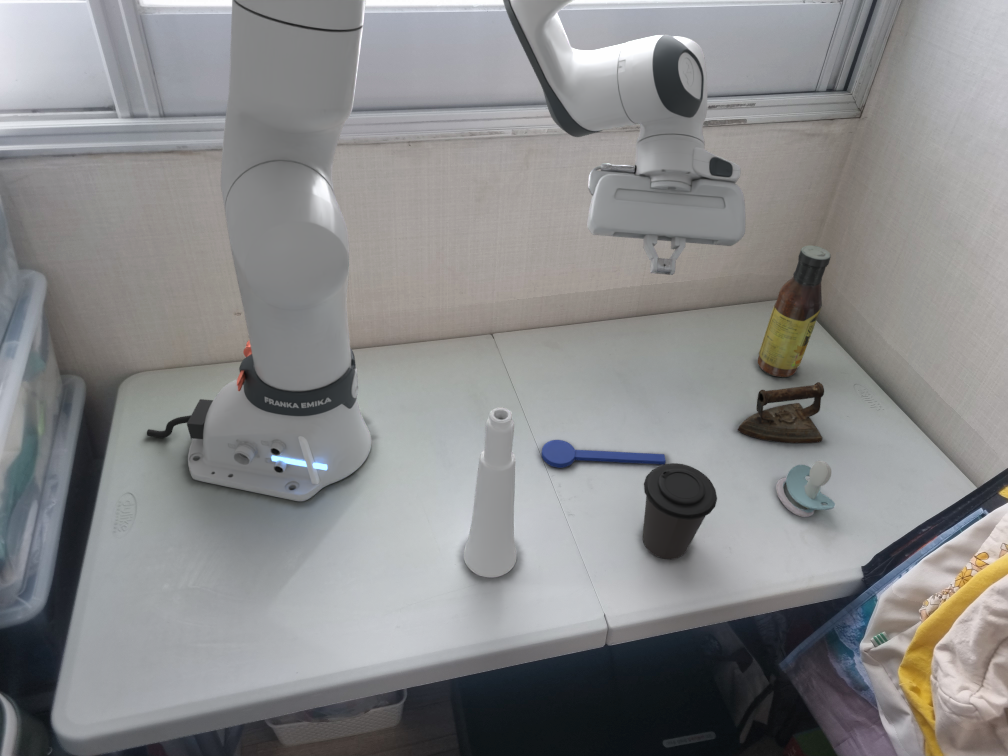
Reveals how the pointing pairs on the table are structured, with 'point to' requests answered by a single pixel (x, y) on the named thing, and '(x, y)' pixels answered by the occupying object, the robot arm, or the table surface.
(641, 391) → the table surface
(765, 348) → the sauce bottle
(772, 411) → the clothes iron
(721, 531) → the table surface
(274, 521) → the table surface
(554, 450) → the spoon
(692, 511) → the coffee cup
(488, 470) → the cosmetic bottle
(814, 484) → the pacifier
